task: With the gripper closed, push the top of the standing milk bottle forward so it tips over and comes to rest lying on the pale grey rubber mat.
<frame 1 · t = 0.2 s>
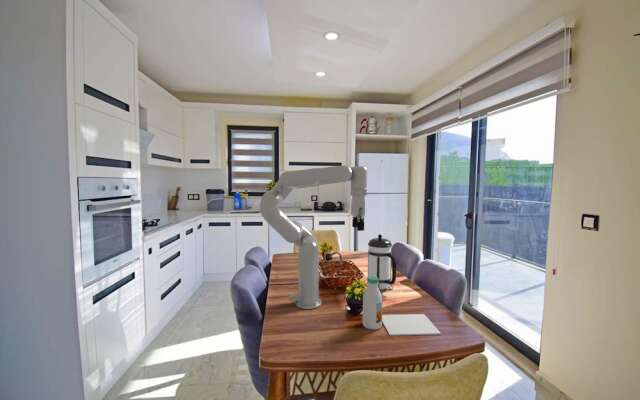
hand: (358, 228, 138), 36 cm above the table, tool pointing down, fingers open, 9 cm apart
coffee press: (381, 289, 160), on the table
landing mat: (408, 324, 120), on the table
milk bottle: (372, 325, 119), on the table
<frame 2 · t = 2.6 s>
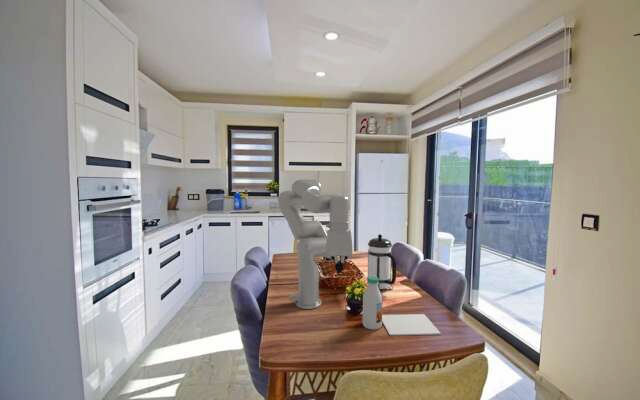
hand: (339, 272, 117), 23 cm above the table, tool pointing down, fingers closed
nothing on the table moved.
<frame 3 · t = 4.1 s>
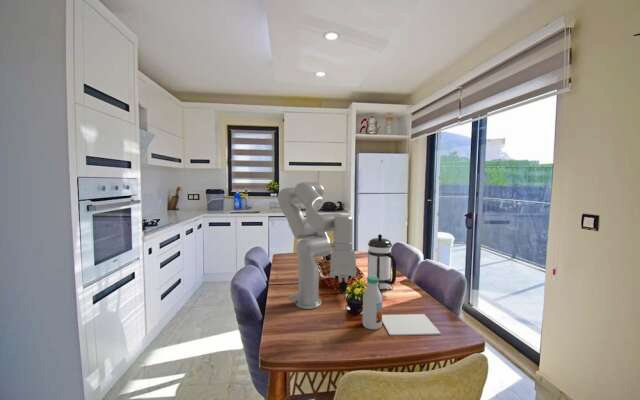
hand: (342, 291, 118), 15 cm above the table, tool pointing down, fingers closed
nothing on the table moved.
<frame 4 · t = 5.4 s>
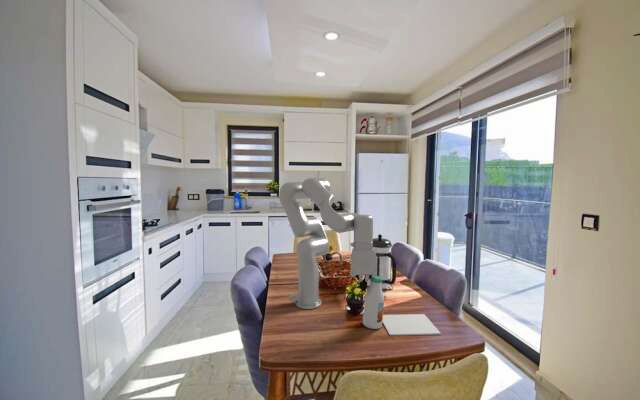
hand: (363, 290, 118), 15 cm above the table, tool pointing down, fingers closed
milk bottle: (372, 325, 119), on the table, touching gripper
everything else where it was.
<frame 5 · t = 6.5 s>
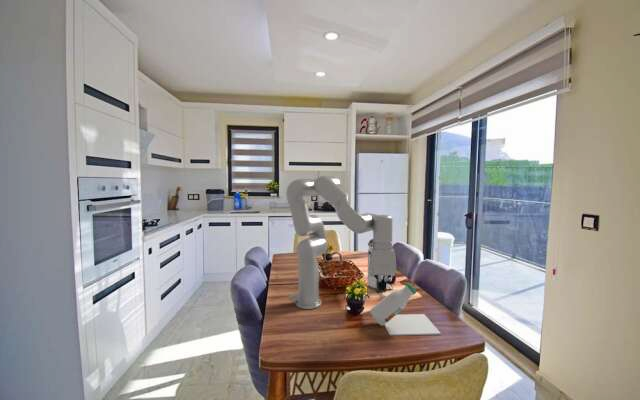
hand: (382, 290, 118), 15 cm above the table, tool pointing down, fingers closed
milk bottle: (375, 318, 119), point 3 cm above the table
everything else where it was.
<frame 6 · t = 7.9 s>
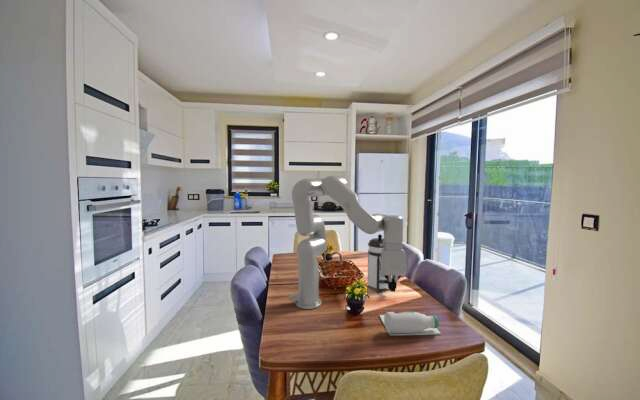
hand: (392, 290, 119), 15 cm above the table, tool pointing down, fingers closed
milk bottle: (386, 322, 112), point 5 cm above the table, touching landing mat
everything else where it was.
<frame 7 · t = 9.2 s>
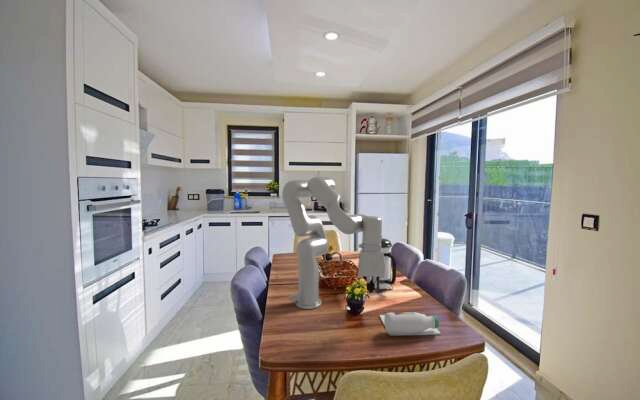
hand: (370, 291, 119), 14 cm above the table, tool pointing down, fingers closed
nothing on the table moved.
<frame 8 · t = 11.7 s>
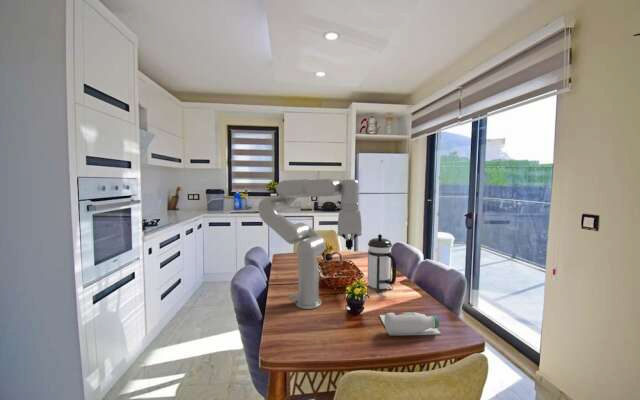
hand: (349, 248, 129), 29 cm above the table, tool pointing down, fingers closed
nothing on the table moved.
at the end: milk bottle tilted 91°; milk bottle touching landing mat; milk bottle inside the target area (9.5 cm from its centre), point 4.3 cm above the table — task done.
